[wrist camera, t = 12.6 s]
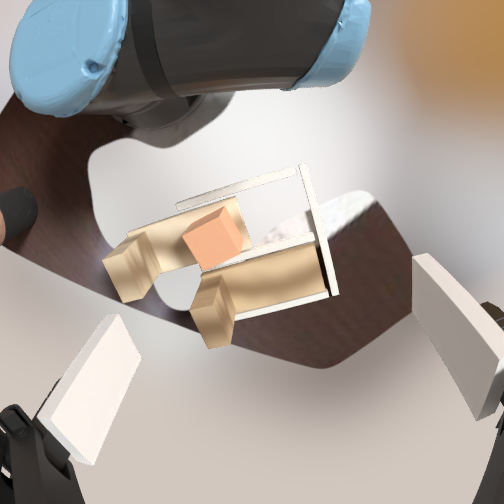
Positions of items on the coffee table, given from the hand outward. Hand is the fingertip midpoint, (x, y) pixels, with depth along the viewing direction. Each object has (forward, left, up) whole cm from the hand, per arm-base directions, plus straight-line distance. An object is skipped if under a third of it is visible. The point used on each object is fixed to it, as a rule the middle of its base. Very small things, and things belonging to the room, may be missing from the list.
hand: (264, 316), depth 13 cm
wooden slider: (+3, -12, -29) cm, 32 cm away
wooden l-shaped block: (+12, -4, -29) cm, 32 cm away
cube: (+3, -8, -28) cm, 29 cm away
